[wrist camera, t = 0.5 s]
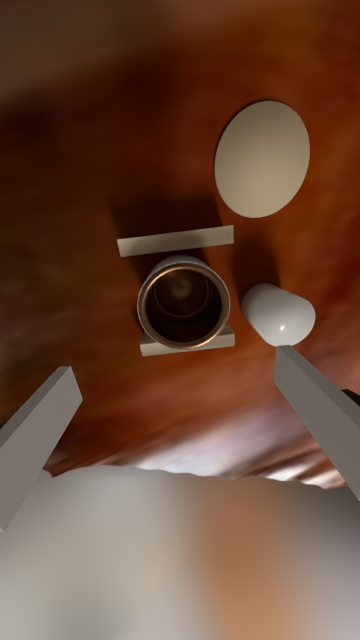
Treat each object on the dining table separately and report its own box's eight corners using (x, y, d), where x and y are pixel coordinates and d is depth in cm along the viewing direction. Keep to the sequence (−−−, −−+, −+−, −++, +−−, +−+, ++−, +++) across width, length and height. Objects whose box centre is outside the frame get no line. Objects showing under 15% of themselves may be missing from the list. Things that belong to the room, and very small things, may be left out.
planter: (207, 245, 29) (222, 247, 20) (220, 312, 33) (237, 339, 24) (137, 264, 30) (121, 275, 21) (158, 328, 34) (152, 359, 25)
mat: (211, 110, 23) (212, 108, 23) (314, 96, 23) (316, 94, 23) (216, 222, 28) (216, 222, 27) (301, 212, 27) (303, 211, 27)
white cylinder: (240, 286, 31) (261, 300, 24) (284, 280, 31) (319, 293, 24) (240, 325, 34) (259, 349, 26) (281, 321, 34) (311, 343, 26)
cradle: (126, 239, 28) (117, 239, 24) (223, 227, 28) (233, 225, 23) (146, 340, 34) (142, 356, 30) (226, 331, 34) (234, 345, 30)
